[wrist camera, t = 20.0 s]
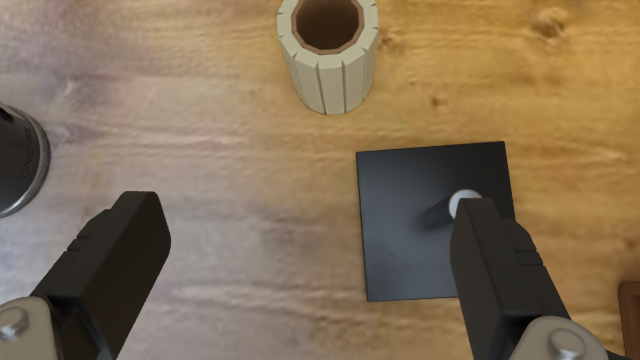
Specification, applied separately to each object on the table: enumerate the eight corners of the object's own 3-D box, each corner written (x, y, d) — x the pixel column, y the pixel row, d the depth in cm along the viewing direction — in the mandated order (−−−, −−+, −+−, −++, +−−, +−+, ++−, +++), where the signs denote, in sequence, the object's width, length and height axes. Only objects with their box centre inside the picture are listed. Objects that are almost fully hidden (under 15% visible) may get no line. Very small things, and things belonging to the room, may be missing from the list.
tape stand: (367, 300, 31) (373, 318, 22) (356, 154, 33) (357, 117, 24) (521, 292, 30) (590, 307, 22) (501, 143, 32) (556, 101, 24)
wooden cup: (296, 117, 34) (278, 72, 25) (293, 45, 35) (275, -21, 27) (374, 111, 33) (382, 63, 25) (369, 39, 35) (374, -31, 26)
